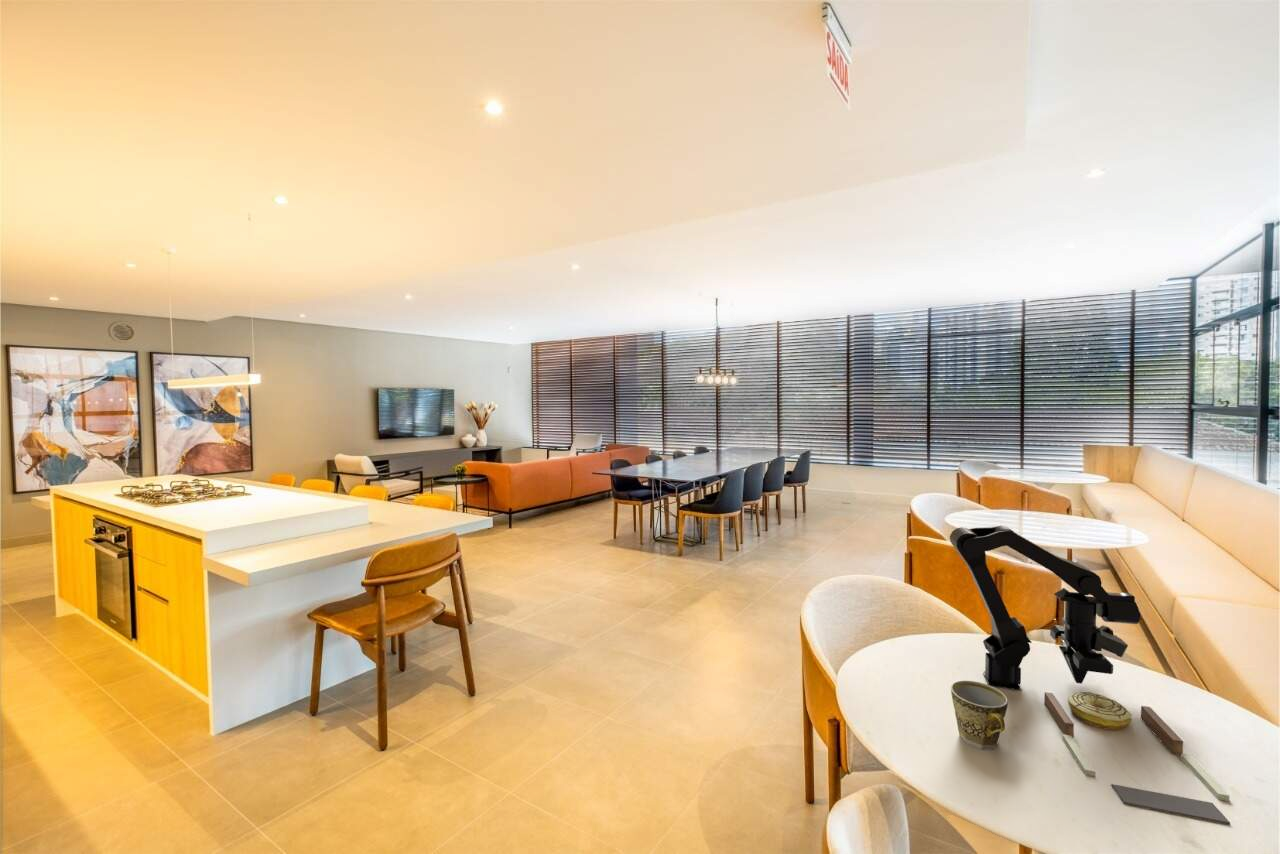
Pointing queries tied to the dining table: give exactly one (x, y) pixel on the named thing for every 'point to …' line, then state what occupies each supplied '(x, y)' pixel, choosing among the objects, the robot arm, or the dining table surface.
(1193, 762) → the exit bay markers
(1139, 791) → the dark grey rectangular plate
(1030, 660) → the dining table surface
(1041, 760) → the dining table surface
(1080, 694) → the decorated donut
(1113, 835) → the dining table surface
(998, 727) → the ceramic cup
